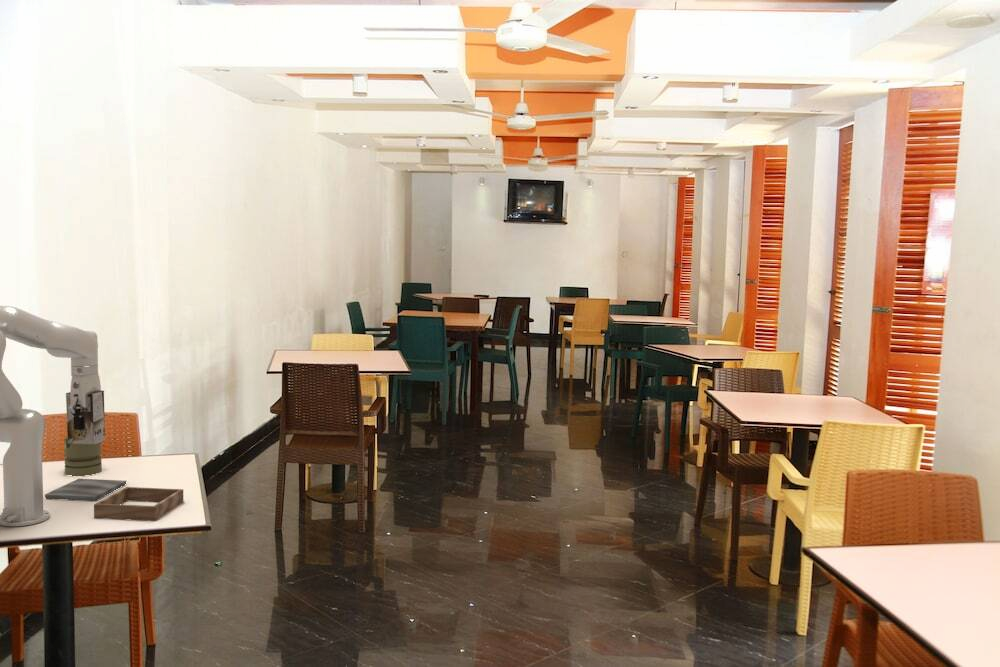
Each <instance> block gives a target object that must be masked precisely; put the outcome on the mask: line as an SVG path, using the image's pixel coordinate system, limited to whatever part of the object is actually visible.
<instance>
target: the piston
mask: <svg viewBox="0 0 1000 667" xmlns="http://www.w3.org/2000/svg"><path fill="white" fill-rule="evenodd" d="M63 442H64V443H63V447H64V448H63V449H64V457H66V458H64V475H65V474H66V475H65V476H67V475H72V476H71V477H73V476H81V477H86V476H85V475H90V476H93V475H92V474H95V475H97V474H96V473H98V474H100V473H101V472H102V469H103V467H102V466H103V465H102V461H103V460H102V455H101V454H102V442H99V443H96V444H74V443H68V436H67V437H65V438H64V440H63ZM99 472H100V473H99Z"/></svg>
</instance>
